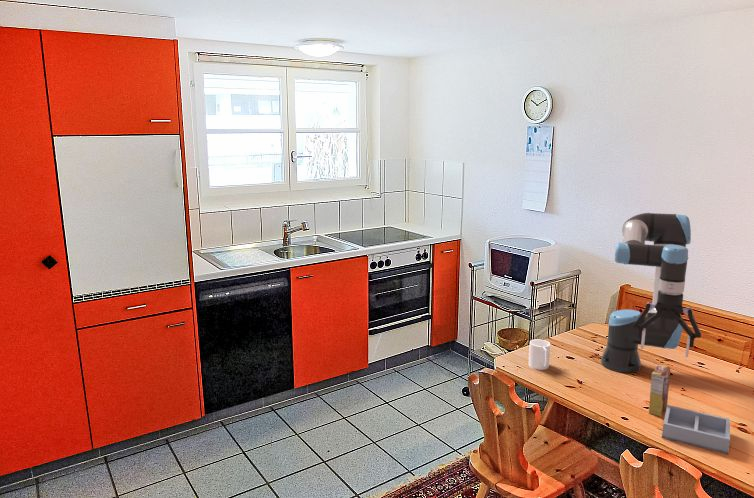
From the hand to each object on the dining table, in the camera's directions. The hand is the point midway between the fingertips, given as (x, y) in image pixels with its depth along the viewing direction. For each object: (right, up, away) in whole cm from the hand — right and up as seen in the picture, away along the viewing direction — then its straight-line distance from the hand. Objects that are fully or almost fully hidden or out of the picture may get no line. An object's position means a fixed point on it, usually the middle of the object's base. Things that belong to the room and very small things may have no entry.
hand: (664, 351), depth 188 cm
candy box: (0, -22, +5) cm, 22 cm away
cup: (-31, -14, +40) cm, 52 cm away
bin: (+4, -25, -11) cm, 28 cm away
